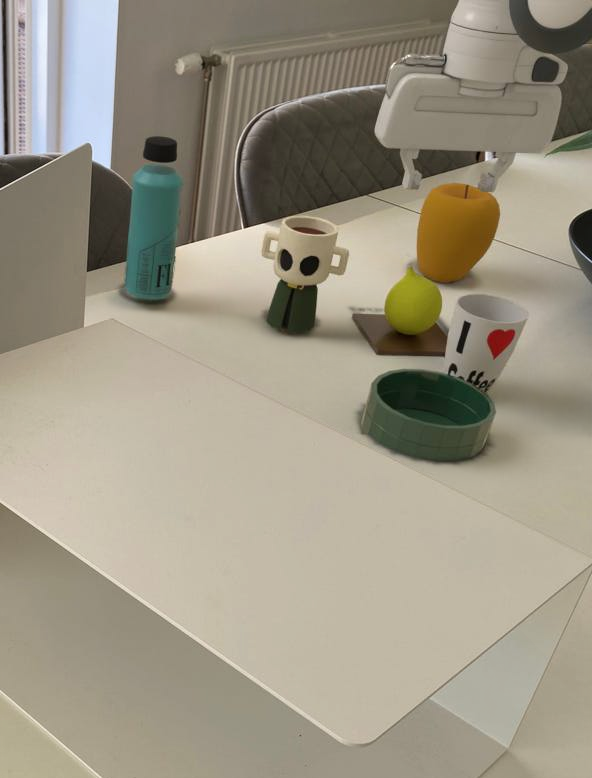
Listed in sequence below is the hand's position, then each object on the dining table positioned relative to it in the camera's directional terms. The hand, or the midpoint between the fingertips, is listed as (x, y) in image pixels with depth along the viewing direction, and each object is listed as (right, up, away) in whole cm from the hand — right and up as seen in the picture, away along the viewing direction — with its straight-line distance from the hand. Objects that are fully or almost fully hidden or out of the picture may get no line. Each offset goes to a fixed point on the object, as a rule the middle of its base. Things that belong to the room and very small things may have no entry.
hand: (447, 189), depth 118 cm
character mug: (-17, -13, +12) cm, 24 cm away
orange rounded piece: (+9, 0, +30) cm, 31 cm away
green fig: (-2, -13, +12) cm, 18 cm away
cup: (+3, -23, +3) cm, 23 cm away
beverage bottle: (-35, -8, +15) cm, 39 cm away
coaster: (-2, -14, +12) cm, 18 cm away
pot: (-6, -31, -8) cm, 32 cm away
